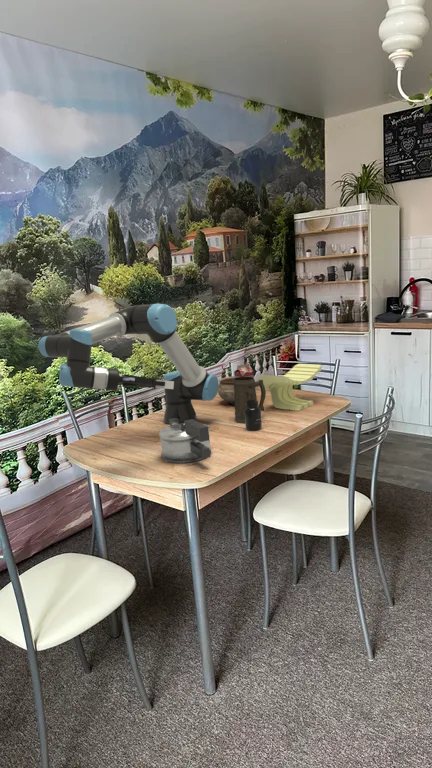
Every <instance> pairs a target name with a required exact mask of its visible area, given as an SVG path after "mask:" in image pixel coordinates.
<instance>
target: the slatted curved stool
mask: <svg viewBox="0 0 432 768" xmlns="http://www.w3.org/2000/svg"><path fill="white" fill-rule="evenodd" d="M321 371H322V364H313V363H312V364H309V363H297V364H295V365H293V367H292V368H291V369H290V370H289V371H288V372H286V374H284V375H272V374H271V375H269V374H261V375H260V376H259V377H258V380H257V381H259V380H263V384H264V387H265V390H266V391H268V390H269V392H270V395H271V396H270V397H271V402H272V406H274V408H276V409H280V410H281V409H282V410H289V409H290V410H291V411H297V410H299V411H301V410H303V409H306V408H308V407H311V406H313V405H314V402H313V400H307V399H302V398H298V397H296V396H295V395H293V393H292V391H293V388H294V387H293V386H299V385H301V384H304V383H307V382H309V381H313V378H316V375H319V374H320V372H321ZM258 391H261V388H260V386H258Z"/></svg>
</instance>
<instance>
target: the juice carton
mask: <svg viewBox="0 0 432 768" xmlns="http://www.w3.org/2000/svg"><path fill="white" fill-rule="evenodd" d="M233 376H234V377H235V378H237V377H253V378H254V379H255V377H254V376H255V375H254V370H253V368H251V367H250V363H244V364H238V365H237V366H236V369H235V370H234V372H233Z"/></svg>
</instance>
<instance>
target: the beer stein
mask: <svg viewBox="0 0 432 768" xmlns="http://www.w3.org/2000/svg"><path fill="white" fill-rule="evenodd" d="M233 385H234V399H235V404H234V421H235V422H236V423H240V424H245V408H246V407H247V405H246V404H247V401H249V400H257V401H258V398H257V391H256V387H257V386H258V387H259V386H260V388H261V390H260V399H259V403H258V407H260V409H261V412H264V411H265V406H264V403H265V400H266V393H267V392H266V390H265V387H264V384H263V380H259V381H258V380H257V381H256V380H255V377H254V378H253V377H237V378H234V379H233Z"/></svg>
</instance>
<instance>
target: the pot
mask: <svg viewBox="0 0 432 768" xmlns="http://www.w3.org/2000/svg"><path fill="white" fill-rule="evenodd" d="M159 438H160V437H159ZM210 438H211V437H209V440H208V441H203V442H200V441H198V440H196V439H193V440H187V441H167V440H163V439H161V438H160V446H161V459H162V460H163V461H164V462H166V461H167V462H166V463H169V462H170V463H171V464H191V463H196V462H200V461H203V460H205V459H207V458H210V457H211V455H212V449H211V439H210Z"/></svg>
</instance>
